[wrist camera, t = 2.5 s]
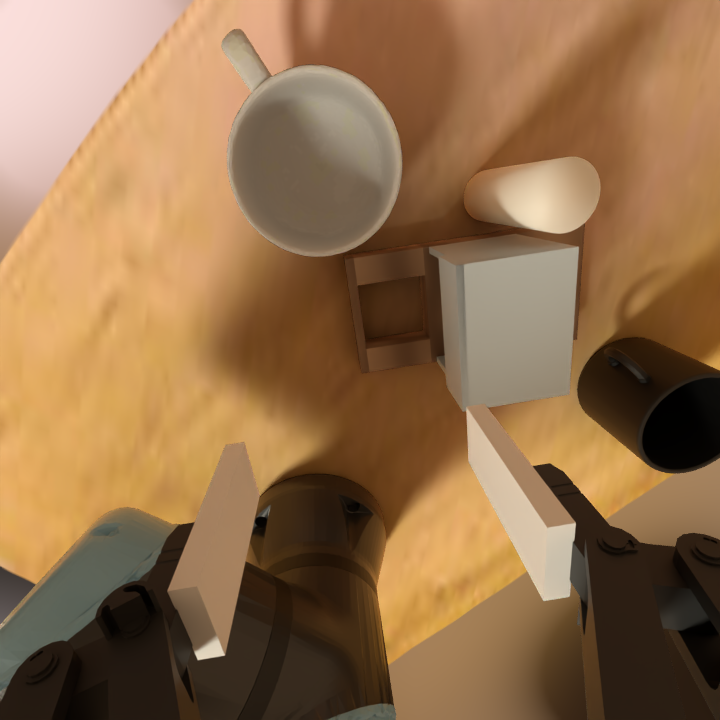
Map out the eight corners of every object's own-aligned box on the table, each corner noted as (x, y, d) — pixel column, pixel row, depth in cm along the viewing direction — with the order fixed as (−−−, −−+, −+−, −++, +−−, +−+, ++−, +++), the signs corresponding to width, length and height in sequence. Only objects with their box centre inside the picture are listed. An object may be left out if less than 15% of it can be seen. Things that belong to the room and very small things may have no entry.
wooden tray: (359, 362, 39) (365, 390, 33) (343, 255, 35) (346, 266, 29) (561, 330, 39) (601, 353, 34) (567, 221, 35) (612, 226, 30)
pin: (464, 224, 35) (529, 238, 24) (462, 173, 33) (531, 162, 22) (510, 217, 35) (597, 228, 24) (510, 166, 33) (603, 151, 22)
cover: (431, 362, 36) (462, 411, 28) (422, 247, 33) (455, 265, 24) (514, 349, 37) (569, 394, 28) (515, 233, 33) (578, 246, 25)
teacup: (405, 211, 34) (427, 216, 27) (287, 265, 35) (277, 284, 28) (335, 18, 29) (338, -43, 21) (198, 87, 30) (157, 51, 22)
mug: (622, 298, 38) (705, 327, 30) (682, 377, 42) (771, 422, 34) (542, 366, 40) (599, 411, 32) (606, 436, 44) (672, 492, 36)
